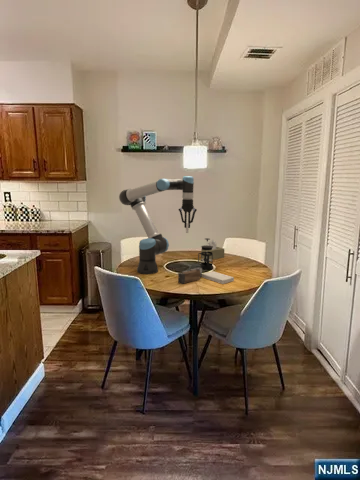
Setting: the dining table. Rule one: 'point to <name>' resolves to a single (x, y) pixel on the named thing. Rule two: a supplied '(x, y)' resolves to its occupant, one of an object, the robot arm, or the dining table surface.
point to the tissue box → (214, 251)
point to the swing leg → (188, 276)
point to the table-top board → (218, 277)
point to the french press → (206, 257)
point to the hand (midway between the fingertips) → (187, 232)
